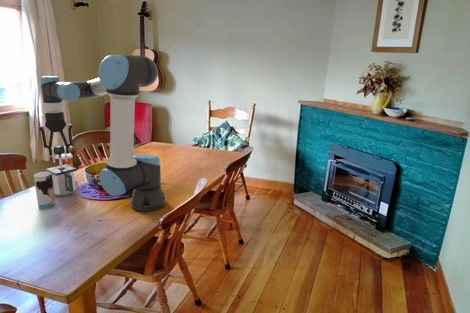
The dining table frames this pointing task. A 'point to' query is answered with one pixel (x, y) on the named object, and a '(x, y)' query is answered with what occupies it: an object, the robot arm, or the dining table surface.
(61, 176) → the lidded canister
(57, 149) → the plunger
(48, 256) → the dining table surface
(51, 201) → the cup
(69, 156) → the paper cup
